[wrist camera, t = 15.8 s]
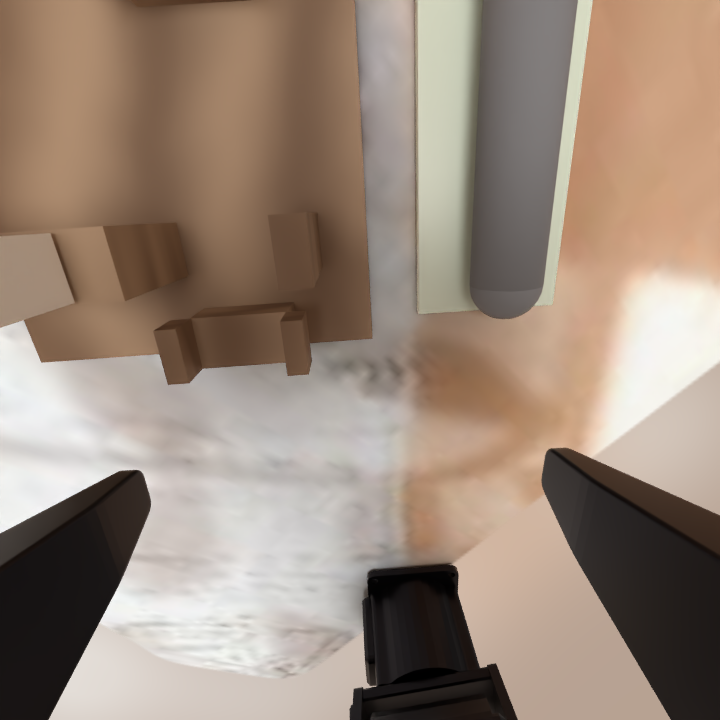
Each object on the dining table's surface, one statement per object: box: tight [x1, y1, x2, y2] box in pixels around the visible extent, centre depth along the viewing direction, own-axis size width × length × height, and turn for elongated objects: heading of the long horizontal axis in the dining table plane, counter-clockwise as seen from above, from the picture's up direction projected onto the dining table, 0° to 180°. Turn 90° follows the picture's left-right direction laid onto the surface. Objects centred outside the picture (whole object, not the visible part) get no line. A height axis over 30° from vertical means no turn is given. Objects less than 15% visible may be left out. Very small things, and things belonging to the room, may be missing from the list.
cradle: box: [0, 0, 372, 385], centre depth 14 cm, size 17×16×6 cm
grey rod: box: [469, 0, 578, 319], centre depth 14 cm, size 3×18×3 cm, turn 4°
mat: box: [415, 0, 593, 314], centre depth 16 cm, size 7×18×1 cm, turn 4°
